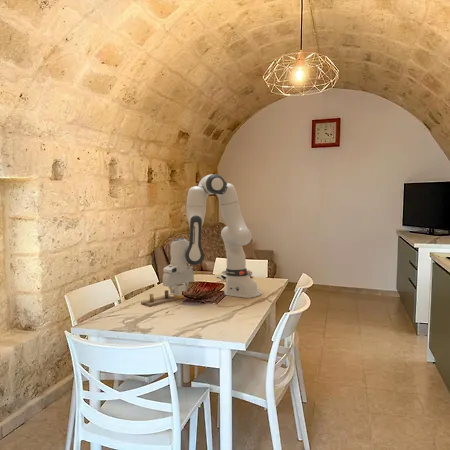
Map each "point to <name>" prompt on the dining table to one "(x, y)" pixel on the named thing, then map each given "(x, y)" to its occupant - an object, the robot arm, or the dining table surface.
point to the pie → (226, 275)
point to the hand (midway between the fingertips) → (178, 291)
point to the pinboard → (158, 300)
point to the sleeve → (179, 290)
